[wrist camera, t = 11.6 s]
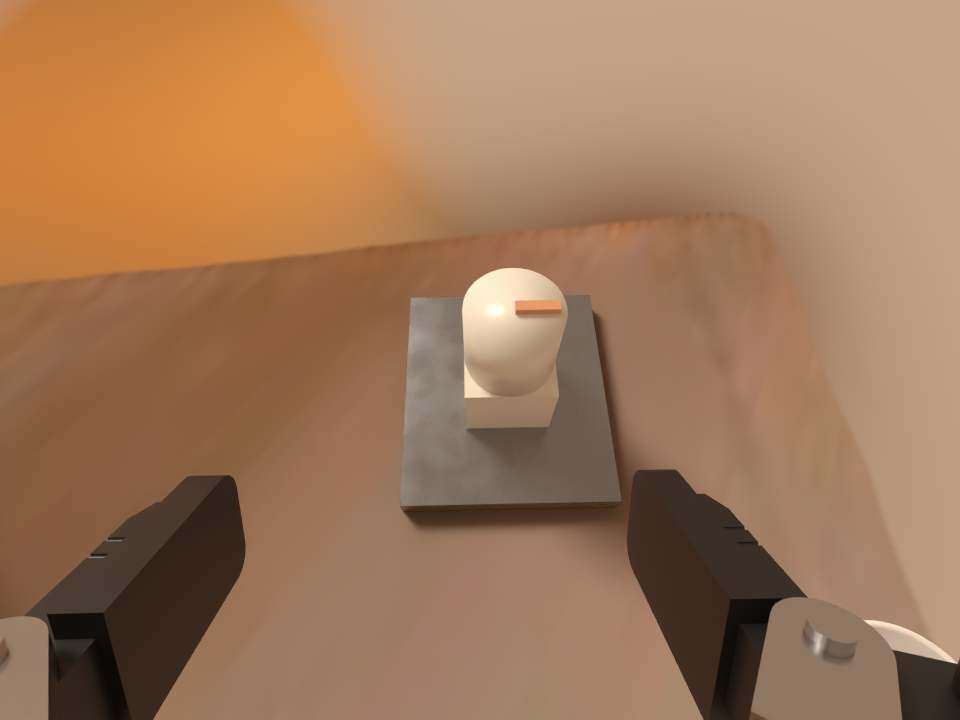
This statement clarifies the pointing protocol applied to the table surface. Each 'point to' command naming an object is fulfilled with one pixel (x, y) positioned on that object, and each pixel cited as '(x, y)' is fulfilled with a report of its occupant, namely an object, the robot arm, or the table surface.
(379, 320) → the table surface
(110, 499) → the table surface
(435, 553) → the table surface
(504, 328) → the knob
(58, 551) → the table surface
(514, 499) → the grey base with post
